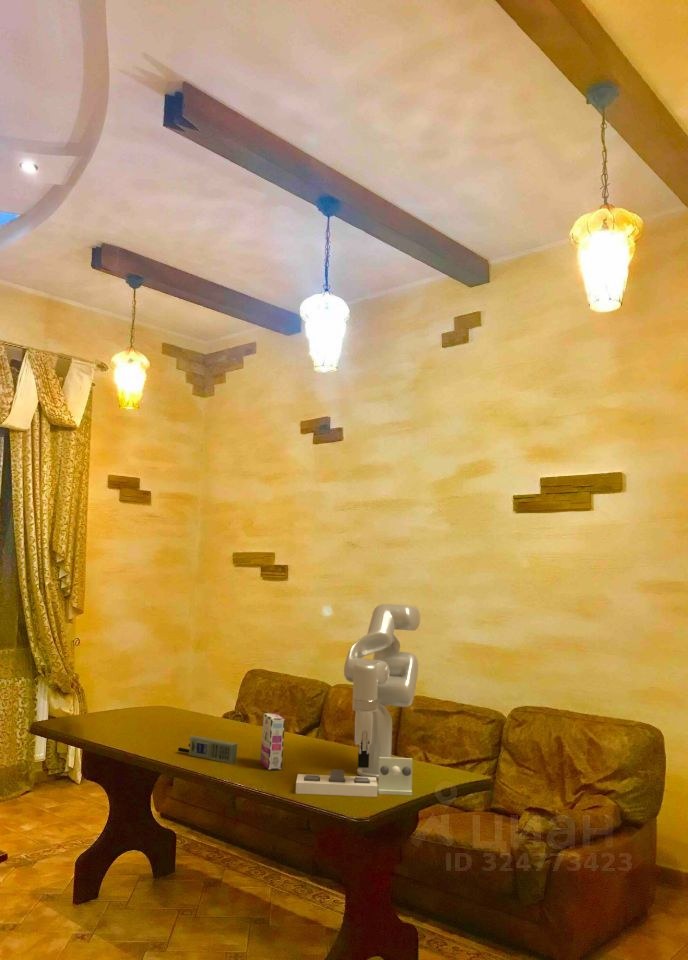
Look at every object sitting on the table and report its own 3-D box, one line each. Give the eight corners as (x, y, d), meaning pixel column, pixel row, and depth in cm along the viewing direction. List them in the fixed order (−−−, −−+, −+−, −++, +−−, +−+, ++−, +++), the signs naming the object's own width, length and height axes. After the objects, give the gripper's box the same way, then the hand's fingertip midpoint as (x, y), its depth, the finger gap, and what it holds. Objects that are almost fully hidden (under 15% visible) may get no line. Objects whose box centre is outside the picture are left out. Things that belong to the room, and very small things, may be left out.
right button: (367, 789, 217) (368, 777, 217) (368, 792, 213) (368, 781, 213) (354, 788, 217) (355, 777, 217) (354, 792, 213) (355, 780, 213)
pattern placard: (410, 791, 217) (411, 757, 218) (412, 795, 213) (412, 760, 215) (377, 790, 217) (378, 756, 218) (378, 793, 213) (379, 758, 215)
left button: (318, 787, 217) (318, 775, 217) (318, 790, 213) (318, 779, 213) (305, 786, 217) (305, 775, 217) (304, 790, 213) (305, 778, 213)
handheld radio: (231, 765, 241) (175, 753, 253) (237, 763, 244) (181, 752, 256) (232, 744, 242) (177, 734, 254) (238, 743, 245) (183, 733, 257)
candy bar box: (282, 770, 236) (285, 718, 239) (268, 770, 235) (271, 718, 237) (274, 762, 247) (276, 712, 249) (259, 762, 245) (262, 712, 247)
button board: (375, 787, 220) (375, 777, 220) (377, 796, 210) (377, 786, 210) (297, 784, 220) (298, 774, 220) (295, 793, 210) (296, 782, 210)
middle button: (343, 781, 217) (343, 769, 218) (343, 784, 213) (343, 773, 214) (330, 780, 217) (330, 769, 218) (330, 784, 213) (330, 772, 214)
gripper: (352, 699, 226) (350, 759, 225) (353, 709, 212) (351, 774, 210) (375, 700, 226) (374, 760, 225) (378, 710, 212) (376, 774, 210)
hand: (363, 766), depth 217 cm, fingers closed
